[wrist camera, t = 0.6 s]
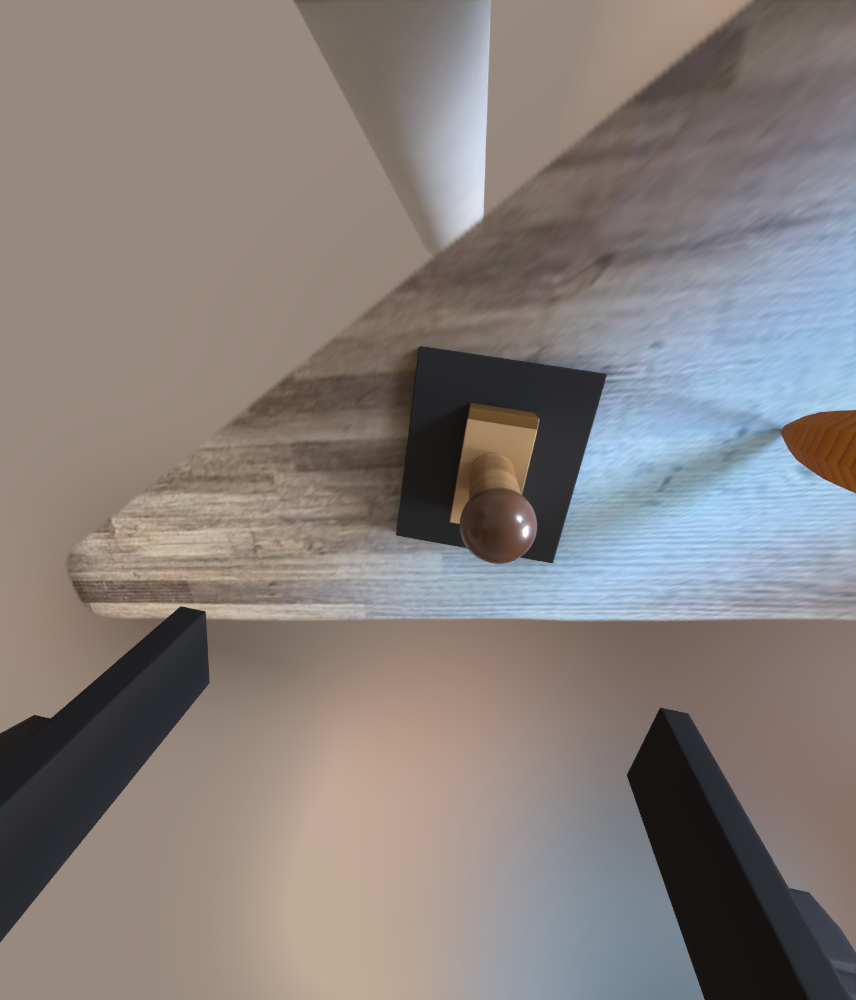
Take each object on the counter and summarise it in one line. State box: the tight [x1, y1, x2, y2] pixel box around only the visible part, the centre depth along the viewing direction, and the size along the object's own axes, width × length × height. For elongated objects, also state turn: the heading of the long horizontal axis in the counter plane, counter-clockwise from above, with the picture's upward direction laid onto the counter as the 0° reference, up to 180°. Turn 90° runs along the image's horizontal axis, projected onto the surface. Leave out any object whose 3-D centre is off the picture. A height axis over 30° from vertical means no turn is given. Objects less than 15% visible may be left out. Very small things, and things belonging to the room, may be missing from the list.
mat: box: [396, 346, 606, 563], centre depth 33 cm, size 16×14×1 cm
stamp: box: [450, 403, 540, 564], centre depth 26 cm, size 9×5×14 cm, turn 172°
